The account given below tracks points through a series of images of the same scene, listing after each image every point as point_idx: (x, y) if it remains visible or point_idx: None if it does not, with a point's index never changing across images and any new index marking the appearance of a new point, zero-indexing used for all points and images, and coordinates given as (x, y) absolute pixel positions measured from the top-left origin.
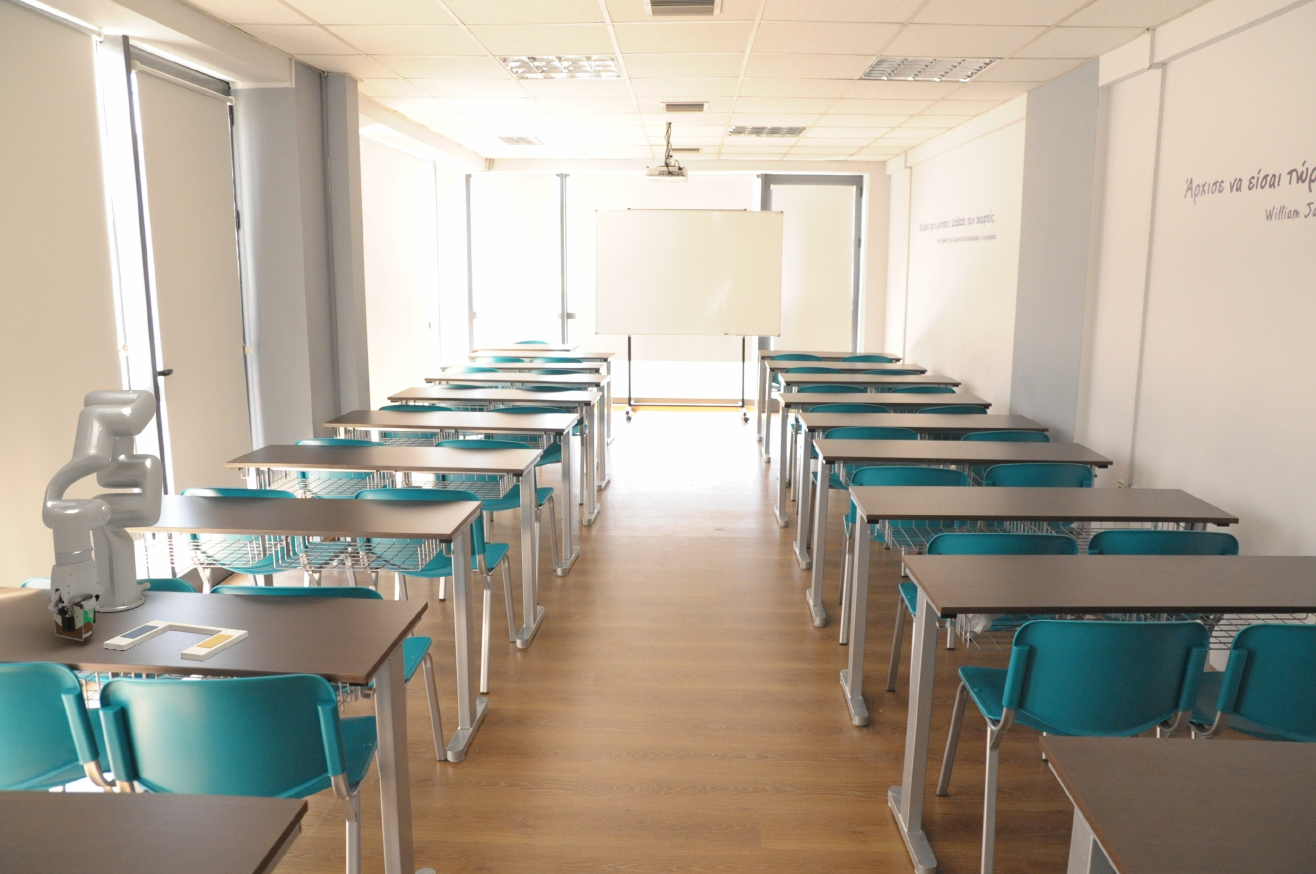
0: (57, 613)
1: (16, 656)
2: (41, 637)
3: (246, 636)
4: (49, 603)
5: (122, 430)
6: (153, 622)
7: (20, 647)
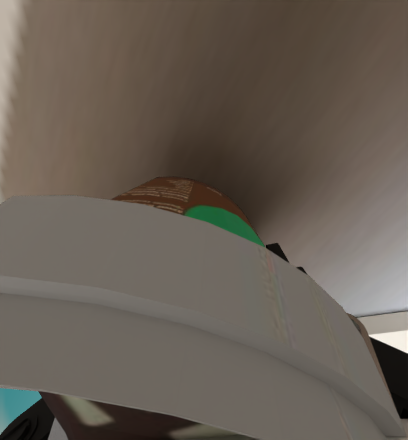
0: (45, 407)
1: (12, 186)
2: (155, 42)
3: None
4: (12, 209)
5: None
6: (405, 341)
7: (44, 96)
